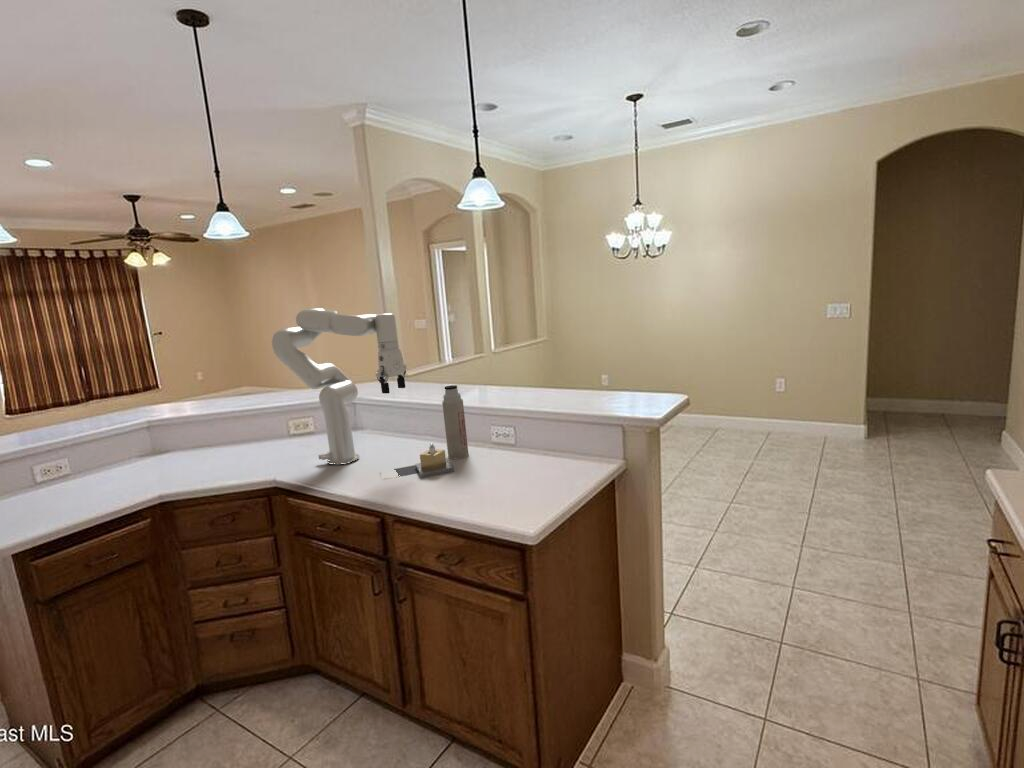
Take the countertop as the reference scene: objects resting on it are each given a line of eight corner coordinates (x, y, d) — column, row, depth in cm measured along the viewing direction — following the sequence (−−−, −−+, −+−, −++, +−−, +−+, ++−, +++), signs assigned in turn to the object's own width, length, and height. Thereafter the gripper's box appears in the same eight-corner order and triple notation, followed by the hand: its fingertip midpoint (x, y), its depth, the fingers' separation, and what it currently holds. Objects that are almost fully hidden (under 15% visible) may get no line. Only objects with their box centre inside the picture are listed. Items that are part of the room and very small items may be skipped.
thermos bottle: (472, 453, 210) (465, 384, 205) (458, 459, 204) (451, 388, 199) (457, 451, 215) (450, 383, 210) (444, 457, 209) (436, 387, 204)
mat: (381, 480, 188) (381, 480, 187) (379, 472, 197) (379, 471, 197) (421, 473, 192) (421, 472, 192) (416, 465, 201) (416, 464, 201)
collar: (421, 467, 192) (419, 454, 191) (431, 461, 197) (430, 449, 197) (436, 469, 189) (434, 455, 188) (446, 463, 195) (444, 450, 194)
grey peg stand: (421, 478, 186) (417, 451, 184) (415, 469, 197) (412, 443, 195) (454, 472, 190) (451, 445, 188) (447, 463, 201) (444, 437, 199)
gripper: (381, 349, 191) (387, 395, 194) (410, 343, 206) (415, 386, 209) (365, 349, 195) (371, 395, 197) (394, 343, 210) (400, 386, 213)
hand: (394, 390), depth 203 cm, fingers open, 9 cm apart
